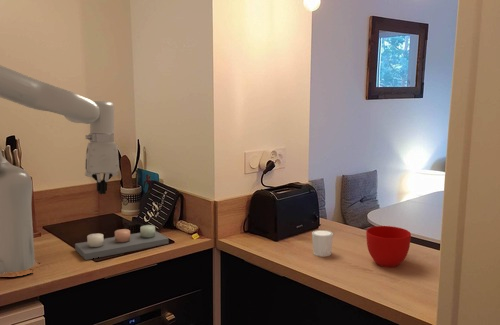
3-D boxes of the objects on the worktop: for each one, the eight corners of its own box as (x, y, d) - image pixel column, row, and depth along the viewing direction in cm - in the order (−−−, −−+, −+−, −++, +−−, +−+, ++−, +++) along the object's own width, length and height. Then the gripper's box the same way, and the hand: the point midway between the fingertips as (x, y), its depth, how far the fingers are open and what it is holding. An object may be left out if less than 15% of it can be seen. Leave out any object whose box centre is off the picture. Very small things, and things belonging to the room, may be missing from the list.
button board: (85, 260, 142) (85, 253, 141) (75, 249, 151) (74, 243, 151) (168, 244, 158) (168, 238, 157) (154, 235, 167) (154, 230, 167)
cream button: (90, 248, 145) (89, 238, 145) (85, 243, 149) (85, 235, 149) (105, 245, 148) (105, 236, 148) (101, 241, 152) (100, 232, 152)
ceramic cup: (416, 256, 146) (417, 226, 144) (404, 274, 131) (405, 241, 130) (375, 249, 152) (376, 220, 151) (360, 266, 138) (360, 234, 136)
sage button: (143, 238, 156) (143, 229, 155) (138, 234, 160) (138, 226, 159) (157, 235, 159) (157, 227, 158) (151, 232, 163) (151, 224, 162)
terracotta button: (117, 243, 151) (117, 234, 150) (112, 239, 155) (112, 230, 154) (132, 240, 153) (132, 231, 153) (127, 236, 157) (126, 228, 157)
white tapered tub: (332, 257, 145) (333, 236, 144) (310, 256, 146) (311, 235, 145) (333, 250, 151) (333, 230, 150) (312, 249, 153) (312, 229, 152)
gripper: (81, 139, 144) (81, 196, 146) (127, 139, 152) (127, 193, 154) (75, 137, 150) (76, 193, 152) (120, 138, 158) (120, 190, 160)
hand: (101, 193), depth 153 cm, fingers closed
